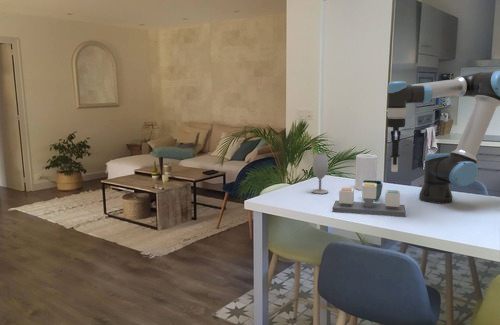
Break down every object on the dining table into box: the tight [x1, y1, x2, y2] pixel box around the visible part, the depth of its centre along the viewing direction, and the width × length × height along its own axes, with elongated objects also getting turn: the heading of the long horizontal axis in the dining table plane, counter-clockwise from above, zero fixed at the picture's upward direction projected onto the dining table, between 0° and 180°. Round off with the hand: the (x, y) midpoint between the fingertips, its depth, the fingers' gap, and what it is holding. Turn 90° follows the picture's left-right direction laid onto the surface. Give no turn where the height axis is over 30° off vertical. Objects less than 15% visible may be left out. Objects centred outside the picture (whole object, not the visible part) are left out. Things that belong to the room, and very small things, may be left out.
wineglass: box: [311, 152, 329, 195], centre depth 227 cm, size 9×9×21 cm
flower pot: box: [363, 180, 383, 202], centre depth 212 cm, size 9×9×9 cm
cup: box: [354, 153, 378, 191], centre depth 235 cm, size 11×11×18 cm
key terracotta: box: [338, 187, 355, 204], centre depth 196 cm, size 6×6×6 cm
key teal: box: [384, 189, 401, 207], centre depth 190 cm, size 6×6×6 cm
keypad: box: [331, 198, 407, 218], centre depth 193 cm, size 31×13×7 cm, turn 73°
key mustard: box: [361, 182, 377, 199], centre depth 192 cm, size 6×6×6 cm
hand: (394, 171), depth 188 cm, fingers closed
